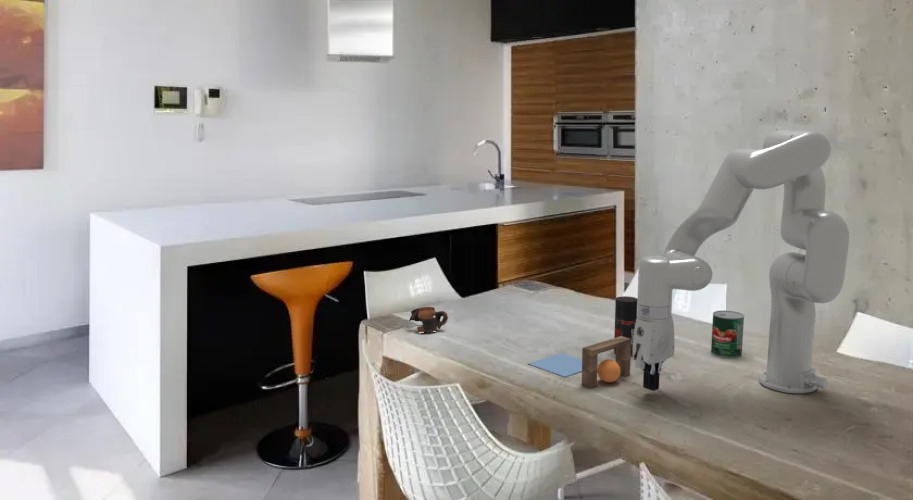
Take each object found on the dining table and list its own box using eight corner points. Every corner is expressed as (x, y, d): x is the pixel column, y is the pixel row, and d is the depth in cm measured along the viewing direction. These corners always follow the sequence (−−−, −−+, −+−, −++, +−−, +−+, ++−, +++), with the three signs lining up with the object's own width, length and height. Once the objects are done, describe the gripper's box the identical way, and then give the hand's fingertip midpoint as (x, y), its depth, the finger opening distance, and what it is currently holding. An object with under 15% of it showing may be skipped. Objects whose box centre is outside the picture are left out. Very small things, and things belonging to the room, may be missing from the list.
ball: (609, 381, 181) (627, 379, 176) (595, 385, 177) (613, 383, 173) (604, 358, 181) (622, 356, 177) (590, 362, 178) (608, 360, 174)
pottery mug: (408, 336, 217) (404, 309, 220) (417, 341, 226) (413, 316, 229) (447, 327, 215) (442, 300, 218) (455, 333, 224) (450, 307, 227)
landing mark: (599, 365, 189) (599, 365, 189) (565, 377, 181) (565, 376, 181) (562, 353, 199) (562, 353, 199) (527, 364, 191) (527, 363, 191)
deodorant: (620, 348, 203) (621, 295, 201) (640, 352, 199) (642, 298, 197) (609, 353, 199) (611, 299, 196) (630, 357, 195) (632, 302, 192)
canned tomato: (740, 350, 200) (742, 311, 198) (743, 359, 193) (745, 319, 191) (709, 348, 203) (711, 309, 201) (711, 357, 195) (713, 317, 193)
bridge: (629, 374, 182) (631, 338, 181) (591, 388, 173) (592, 350, 172) (620, 371, 185) (621, 336, 183) (581, 384, 176) (582, 347, 174)
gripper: (647, 320, 158) (644, 401, 161) (687, 308, 167) (684, 385, 171) (619, 313, 164) (617, 391, 167) (660, 302, 173) (656, 376, 176)
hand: (650, 388), depth 169 cm, fingers closed
